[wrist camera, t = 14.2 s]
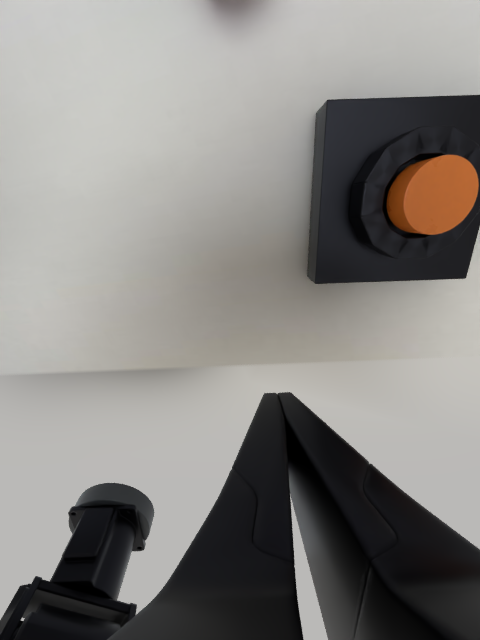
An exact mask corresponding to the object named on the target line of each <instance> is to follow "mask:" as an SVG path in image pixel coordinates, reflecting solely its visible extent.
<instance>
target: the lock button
mask: <svg viewBox="0 0 480 640" xmlns="http://www.w3.org/2000/svg"><path fill="white" fill-rule="evenodd" d="M478 186H479V184H478V176H477V173H476V170H475V168H474V167H473V165H472V164H471V163H470V162H469V161H468V160H466V159H465V158H463V157H461V156H458V155H442V156H438V157H435V158H431V159H427V160H423V161H419V162H416V163H414V164H412V165H410V166H408V167H407V168H405V169H404V170H403V171H402V172H401V173H400V174H399V175H398V176H397V177H396V179H395V180H394V182H393V183H392V185H391V187H390V189H389V192H388V196H387V213H388V216H389V218H390V220H391V221H392V223H393V224H394V225H395V226H396V227H397V228H399V229H400V230H403V231H405V232H411V233H419V234H427V235H435V234H441V233H444V232H446V231H449V230H451V229H452V228H454V227H455V226H457V225H458V224H459V223H461V222H462V221H463V220H464V219H465V217H466V216H467V215H468V214H469V212H470V211H471V209H472V207H473V205H474V203H475V201H476V198H477V194H478Z"/></svg>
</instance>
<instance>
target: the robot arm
mask: <svg viewBox="0 0 480 640" xmlns="http://www.w3.org/2000/svg"><path fill="white" fill-rule="evenodd" d="M290 494H291V498H292V502H293V506H294V510H295V514H296V517H297V521H298V525H299V529H300V533H301V536H302V540H303V544H304V548H305V552H306V555H307V560H308V563H309V567H310V571H311V575H312V578H313V583H314V586H315V590H316V594H317V598H318V602H319V606H320V609H321V613H322V617H323V621H324V625H325V629H326V632H327V636H328V640H480V550H479V549H478V548H477V547H475V546H474V545H473V544H472V543H470V542H469V541H468V540H466V539H465V538H464V537H462V536H461V535H460V534H458V533H457V532H456V531H454V530H453V529H452V528H450V527H449V526H448V525H446V524H445V523H444V522H442V521H441V520H440V519H439V518H437V517H436V516H434V515H433V514H432V513H431V512H429V511H428V510H427V509H425V508H424V507H423V506H421V505H420V504H419V503H417V502H416V501H415V500H414V499H412V498H411V497H410V496H409V495H407V494H406V493H404V492H403V491H402V490H401V489H400V488H399V487H397V486H396V485H395V484H394V483H393V482H392V481H390V480H389V479H388V478H387V477H386V476H384V475H383V474H382V473H381V472H380V471H379V470H378V469H376V468H375V467H374V466H373V465H372V464H369V462H368V461H367V460H366V459H365V458H364V457H363V456H362V455H360V454H359V453H358V452H357V451H356V450H355V449H354V448H353V447H352V446H350V445H349V444H348V443H347V442H346V441H345V440H344V439H343V438H341V437H340V436H339V435H338V434H337V433H336V432H335V431H334V430H332V429H331V428H330V427H329V426H328V425H327V424H326V423H325V422H323V421H322V420H321V419H320V418H319V417H318V416H317V415H315V414H314V413H313V412H312V411H311V410H310V409H309V408H308V407H307V406H305V405H304V404H303V403H302V402H301V401H300V400H299V399H298V398H296V397H295V396H294V395H293V394H292V393H290V392H287V393H286V392H285V393H278V395H277V394H276V393H265V394H264V395H263V397H262V399H261V402H260V404H259V407H258V409H257V411H256V413H255V416H254V418H253V420H252V423H251V425H250V427H249V429H248V432H247V434H246V436H245V439H244V441H243V444H242V446H241V448H240V450H239V453H238V455H237V457H236V460H235V462H234V465H233V467H232V470H231V471H230V473H229V476H228V478H227V480H226V483H225V485H224V487H223V489H222V491H221V493H220V495H219V497H218V499H217V501H216V502H215V504H214V506H213V508H212V510H211V511H210V513H209V515H208V517H207V518H206V520H205V522H204V523H203V525H202V527H201V528H200V530H199V532H198V533H197V535H196V537H195V538H194V540H193V541H192V543H191V545H190V547H189V548H188V550H187V551H186V553H185V555H184V556H183V558H182V560H181V561H180V563H179V565H178V566H177V568H176V569H175V571H174V573H173V574H172V576H171V577H170V579H169V580H168V582H167V583H166V585H165V586H164V587H163V589H162V590H161V591H160V592H159V594H158V595H157V596H156V597H155V598H154V599H153V600H152V601H151V602H150V603H149V604H148V605H147V606H146V607H145V608H144V609H142V610H141V611H140V612H139V613H138V614H137V615H135V614H136V607H137V605H136V604H133V603H130V604H127V603H124V602H120V601H117V598H118V595H119V592H120V588H121V585H122V582H123V578H124V575H125V572H126V569H127V565H128V562H129V559H130V555H131V552H132V551H142V550H144V548H145V539H144V535H143V531H142V527H141V523H140V518H139V514H138V510H137V507H136V506H135V505H133V504H123V505H97V506H74V507H72V508H71V509H70V511H69V513H68V514H69V517H70V520H71V522H72V525H73V528H74V533H73V535H72V537H71V539H70V541H69V543H68V545H67V547H66V549H65V551H64V553H63V555H62V558H61V560H60V562H59V564H58V566H57V568H56V570H55V572H54V574H53V576H52V578H51V580H50V582H49V581H46V580H42V578H41V577H38V576H36V577H35V578H34V580H33V582H32V584H28V585H22V586H20V587H19V589H18V591H17V593H16V594H15V596H14V598H13V599H12V601H11V603H10V605H9V606H8V608H7V610H6V612H5V613H4V615H3V617H2V618H1V620H0V640H303V634H302V627H301V621H300V615H299V608H298V600H297V590H296V579H295V568H294V550H293V549H294V548H293V533H292V518H291V502H290ZM22 617H23V618H25V619H24V621H20V620H21V618H22Z"/></svg>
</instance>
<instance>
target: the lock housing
mask: <svg viewBox="0 0 480 640" xmlns="http://www.w3.org/2000/svg"><path fill="white" fill-rule="evenodd" d="M442 155H458V156H461V157H463V158H465V159H466V160H468V161H469V162H470V163H471V164H472V165H473V167H474V168H475V170H476V173H477V176H478V184H479V186H478V194H477V198H476V201H475V203H474V205H473V207H472V209H471V211H470V212H469V214H468V215H467V216H466V217H465V219H464V220H463V221H462V222H461V223H459V224H458V225H457V226H455V227H454V228H452V229H451V230H449V231H446V232H444V233H441V234H435V235H427V234H419V233H411V232H405V231H403V230H400V229H399V228H397V227H396V226H395V225H394V224H393V223H392V221H391V220H390V218H389V216H388V213H387V196H388V192H389V189H390V187H391V185H392V183H393V182H394V180H395V179H396V177H397V176H398V175H399V174H400V173H401V172H402V171H403V170H404V169H405V168H407V167H408V166H410V165H412V164H414V163H416V162H419V161H423V160H427V159H431V158H435V157H438V156H442ZM479 226H480V95H462V96H431V97H400V98H369V99H337V100H327V101H326V102H325V103H324V105H323V106H322V107H321V108H320V109H319V110H318V112H317V113H316V127H315V145H314V163H313V181H312V199H311V217H310V235H309V253H308V271H307V277H308V278H309V279H311V280H312V281H313V282H314V283H315V284H325V283H353V282H381V281H410V280H438V279H465V278H466V276H467V272H468V268H469V265H470V261H471V257H472V253H473V249H474V245H475V242H476V238H477V234H478V230H479Z"/></svg>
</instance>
